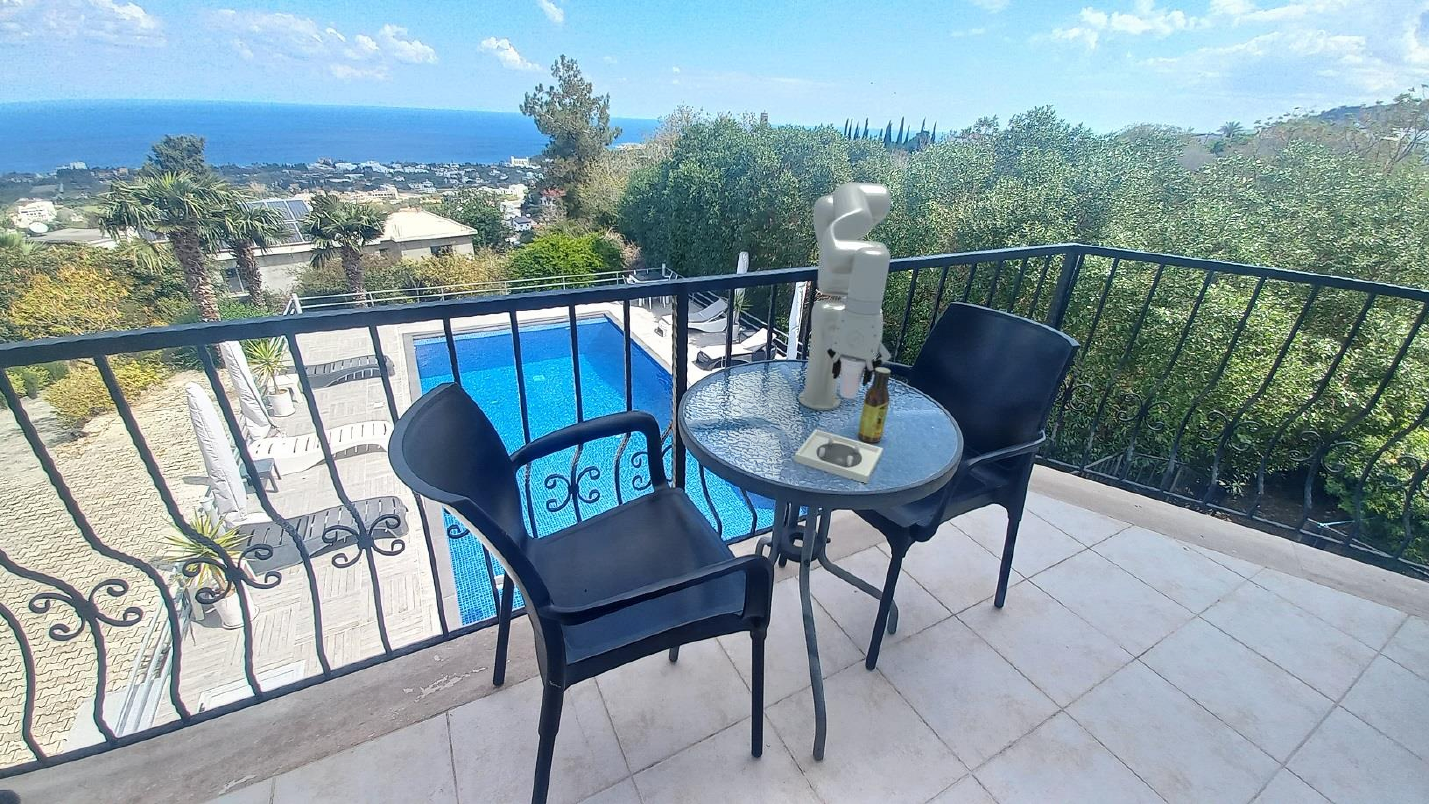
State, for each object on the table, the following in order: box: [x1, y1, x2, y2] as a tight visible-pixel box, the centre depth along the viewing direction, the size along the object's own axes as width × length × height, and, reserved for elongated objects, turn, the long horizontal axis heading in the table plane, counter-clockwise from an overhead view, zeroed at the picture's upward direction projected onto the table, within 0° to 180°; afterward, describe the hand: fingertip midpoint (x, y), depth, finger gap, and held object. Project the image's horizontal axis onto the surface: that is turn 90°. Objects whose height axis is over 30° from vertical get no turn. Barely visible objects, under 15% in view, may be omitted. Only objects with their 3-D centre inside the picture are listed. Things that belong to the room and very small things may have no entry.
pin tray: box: [793, 428, 884, 484], centre depth 134 cm, size 15×18×4 cm
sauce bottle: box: [857, 366, 892, 444], centre depth 141 cm, size 7×6×20 cm
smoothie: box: [839, 355, 867, 400], centre depth 125 cm, size 6×6×14 cm
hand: (850, 379), depth 126 cm, fingers closed on smoothie, 6 cm apart
